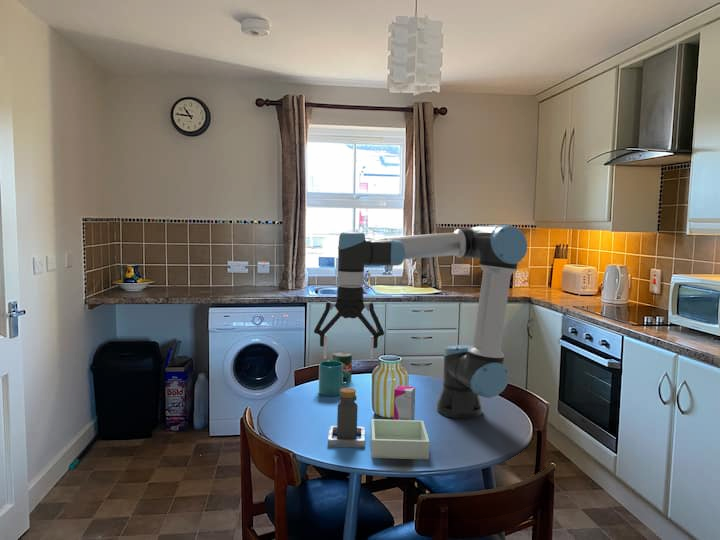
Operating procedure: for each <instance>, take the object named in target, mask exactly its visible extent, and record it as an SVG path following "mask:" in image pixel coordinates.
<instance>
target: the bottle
mask: <svg viewBox="0 0 720 540" xmlns="http://www.w3.org/2000/svg"><path fill="white" fill-rule="evenodd" d="M356 392H357V390H356V389H355V388H353V387H343V388H342V389H340V393H341V394H340V395H338V399H339V401H340V402H339V403H338V404H337V413H336V415H337V417H336V418H337V422H336V423H337V424H336V426H337V434H336V438H337V439H358V438H357V437H358V434H357V427H358V408H359V407H358V404H357V403H356V402H355V401H357V395H356Z"/></svg>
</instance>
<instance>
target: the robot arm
mask: <svg viewBox="0 0 720 540" xmlns="http://www.w3.org/2000/svg"><path fill="white" fill-rule="evenodd" d="M338 237H339V238H338V247H337V250H338V251H337V252H338V255H337V258H338V259H337V261H338V263H337V264H338V266H337V267H338V269H337V285H339V286H337V288H336V289H337V290H336V291H337V294H336V302H332V301H330V300H328V301H326V304H325V310H324V311H323V313H322V315H321V317H320V319H319V321H318V322H317V324H316V326H315V328H314V330H313V333H314V334H316V335H317V334H318V335H319V346H320V347H322V348H323V356H322V357H323V359H327V357H328V355H327V354H328V353H327V352H328V334H327V332H328V331H330V329H331V328H332V327H333V325H335V323H337V322H338V321H339V320H340V318H341V317H342V318H344V319H349V318H350V319H356V318H358V319H359V321H361V323H362V324H363V325H364V326H365V328H366V329H367V330H368V331H369V332H370V333H371V336H370V361H374V349H377V348H378V344H379V343H378V342H379V337H381V336H382V337H383V336H384V335H385V331H384V329H383V326H382V325H381V322H380V320H379V318H378V315H377V314H376V311H375V309H374V308H375V307H374V306H375V305H374V303H373V302H372V301H371V302H369V303H364V287H363V285H364V284H365V283H364V279H365V278H364V275H365V266H380V267H381V266H382V267H383V266H386V267H387V266H389V267H393V266H400V265H402V264H403V263H404V260H413V259H414V260H415V259H424V258H435V257H437V258H438V257H448V256H455V257H456V258H459V259H462V258H463V259H464V258H471V259H476V260H477V259H478V260H479V263H478V266H479V267H480V269H481V270H482V278H481V284H480V291H479V297H478V304H477V305H478V307H477V312H476V321H475V326H474V327H475V328H474V333H473V341H472V345H470V344H453V345H448V346H446V347H445V349H444V354H443V380H442V381H443V383H442V385H443V386H442V390H441V392H440V395H439V398H438V400H437V404H436V406H437V407H436V410H437V412H438V413H439V414H441V415H442V416H445V417H447V418H453V419H461V420H467V419H475V418H479V417H481V415H482V409H483V407H482V403H481V399H480V397H481V398H486V399H491V398H495V397H497V396H499V395H500V394H501V393H502V392H504V391H505V389H506V387H507V385H508V383H509V378H510V376H509V375H510V374H509V372H508V369H507V368H506V367H505V366H504V363H505V361H504V360H505V354H504V353H503V352H502V349H501V347H502V340H503V333H504V325H505V320H506V319H505V318H506V311H507V304H508V298H509V291H510V284H511V283H510V282H511V277H512V274H513V273H515V272H516V271H517V269H518V263H520V262H521V261H522V259H524V258H525V256H526V254H527V251H528V241H527V238H526V236H525V234H524V233H523V232H522V230H521V229H519V227H516V226H513V225H509V224H481V225H476V226H472V227H466V228H457V229H455V230H454V231H453V232H442V233H440V232H439V233H426V234H416V235H415V234H411V235H401V236H400V235H399V236H386V237H373V238H371V237H366V234H365V233H364V232H350V231H349V232H348V231H343V232H341V233H340V234H339V236H338ZM334 307H335V309H336V310H337V313H336V314H335V315H334V316H333V317H332V318H331V320H329V322H328V323H327V324H326V325H325V326H324V327H323V329H321V327H322V325H323V323H324V321H326V318H327V316H328V315H329V312H330V311H332V310H333V308H334ZM364 309H366V310H367V312H369V313H370V316H371V317H372V320H373V322H374V324H375V326H376V328H377V330H376V329H375V328H374V327H373V325H372V324H371V323H370V322H369V320H368V319H367V318H366V316H365V315H364V314H363V313H362V312H363V310H364ZM478 416H479V417H478Z"/></svg>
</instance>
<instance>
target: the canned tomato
mask: <svg viewBox="0 0 720 540" xmlns="http://www.w3.org/2000/svg"><path fill="white" fill-rule="evenodd" d="M332 361H339V362H342V363H343V370H344V371H347V372H348V373H349V374H350V376H351V377H352V370H353V369H352V368H353V365H352V363H353V362H352V361H353V353H352V352H351V351H342V350H339V351H335V352H333V353H332ZM347 381H348V376H347V375H346V374H345V373H343V382H347Z"/></svg>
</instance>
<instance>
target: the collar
mask: <svg viewBox="0 0 720 540" xmlns="http://www.w3.org/2000/svg"><path fill="white" fill-rule="evenodd" d="M365 427H366V426H357V435H360V438H357V439H337V437H336V438H333V437H334V435H335V434H336V435H337V425H330V426H329V429H328V430H329V431H328V437H327V447H334V448H335V447H336V448H365V446H366V445H365V444H366V443H365V442H366V438H365V436H366V435H365V434H366V433H365V431H366V430H365V429H366V428H365Z"/></svg>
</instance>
